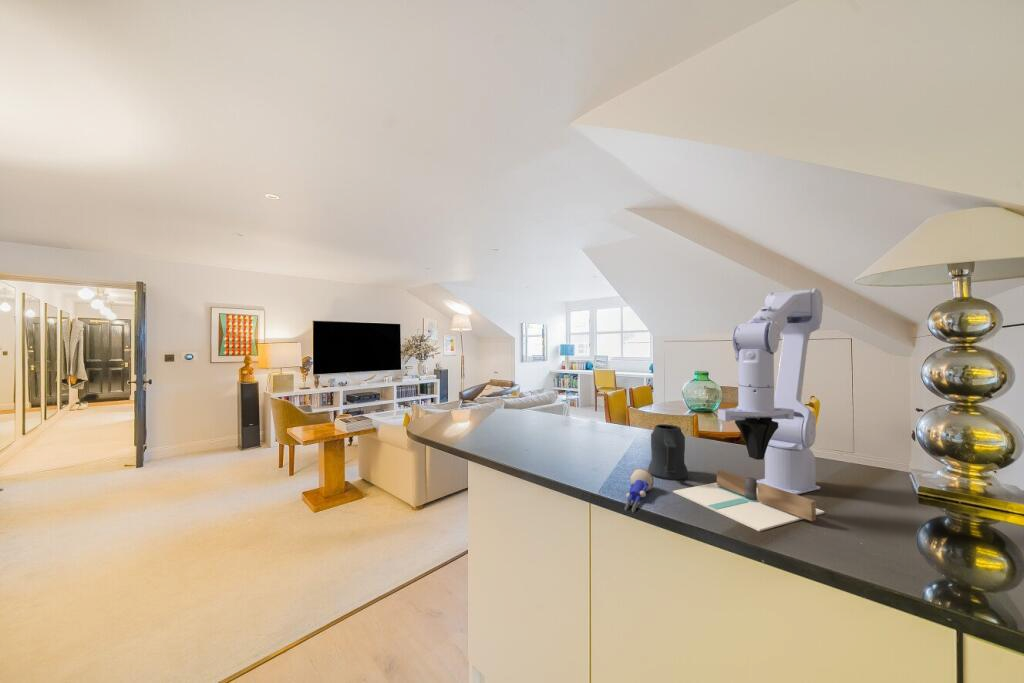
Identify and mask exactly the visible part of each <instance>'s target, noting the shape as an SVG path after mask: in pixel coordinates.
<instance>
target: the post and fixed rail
mask: <svg viewBox="0 0 1024 683" xmlns="http://www.w3.org/2000/svg"><path fill="white" fill-rule="evenodd" d="M757 480H758V479H756V478H754V477H747V476H742V475H738V474H735V473H732V472H730V471H727V470H723V469H722V468H721V469H717V470H716V482H717V485H718V486H720V487H723V488H726V489H728V490H731V491H733V492H736V493H739V494H741V495H744V496H745V498H746V499H748V500H757V488H758V483H757Z"/></svg>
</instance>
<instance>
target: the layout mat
mask: <svg viewBox="0 0 1024 683" xmlns="http://www.w3.org/2000/svg"><path fill="white" fill-rule="evenodd" d="M672 493H674V494H676V495H678V496H680V497H682V498H685V499H687V500H688V501H691V502H694V503H696V504H698V505H700V506H702V507H704V508H706V509H709V510H711V511H713V512H715V513H717V514H720V515H722V516H724V517H726V518H729V519H730V520H732V521H735V522H737V523H740V524H741V525H744V526H747V527H749V528H751V529H753V530H755V531H757V532H762V531H766V530H769V529H772V528H777V527H780V526H783V525H787V524H791V523H794V522H798V521H801V520H806V519H805V518H802V517H799V516H797V515H794V514H791V513H789V512H786V511H784V510H781V509H778V508H776V507H773V506H770V505H768V504H765V503H762V502H760V501H758V487H757V500H748V499H746V498H745V496H744V495H741V494H739V493H736V492H733V491H731V490H728V489H726V488H723V487H720V486H718V485H717V481H716V482H713V483H712V482H711V483H707V484H701V485H697V486H692V487H691V486H690V487H685V488H680V489H676V490H672ZM825 512H826V511H825V510H822V509H819V508H816V516H818V515H822V514H825Z"/></svg>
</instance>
